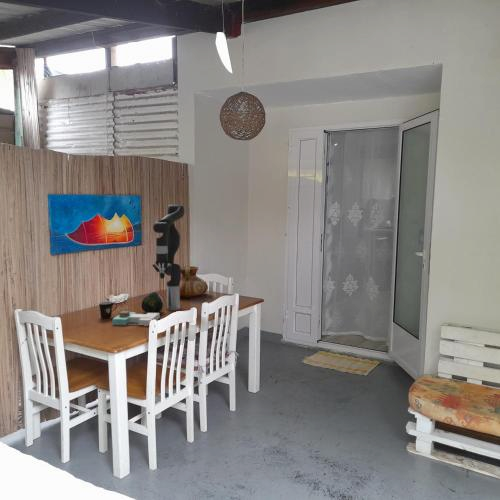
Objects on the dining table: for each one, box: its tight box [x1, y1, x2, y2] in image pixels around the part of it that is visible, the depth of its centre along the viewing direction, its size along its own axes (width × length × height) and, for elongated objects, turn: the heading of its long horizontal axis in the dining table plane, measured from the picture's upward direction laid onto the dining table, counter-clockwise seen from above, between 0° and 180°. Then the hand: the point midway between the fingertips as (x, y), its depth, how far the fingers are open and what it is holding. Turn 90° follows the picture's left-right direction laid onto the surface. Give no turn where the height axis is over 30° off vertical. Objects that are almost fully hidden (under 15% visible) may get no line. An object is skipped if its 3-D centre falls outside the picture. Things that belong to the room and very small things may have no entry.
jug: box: [180, 265, 209, 299], centre depth 370 cm, size 30×30×25 cm
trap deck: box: [112, 311, 161, 327], centre depth 293 cm, size 18×25×4 cm
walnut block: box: [118, 310, 131, 317], centre depth 293 cm, size 5×5×2 cm
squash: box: [141, 292, 164, 314], centre depth 316 cm, size 14×15×15 cm
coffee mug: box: [98, 300, 118, 320], centre depth 303 cm, size 12×9×10 cm
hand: (162, 278), depth 299 cm, fingers closed
